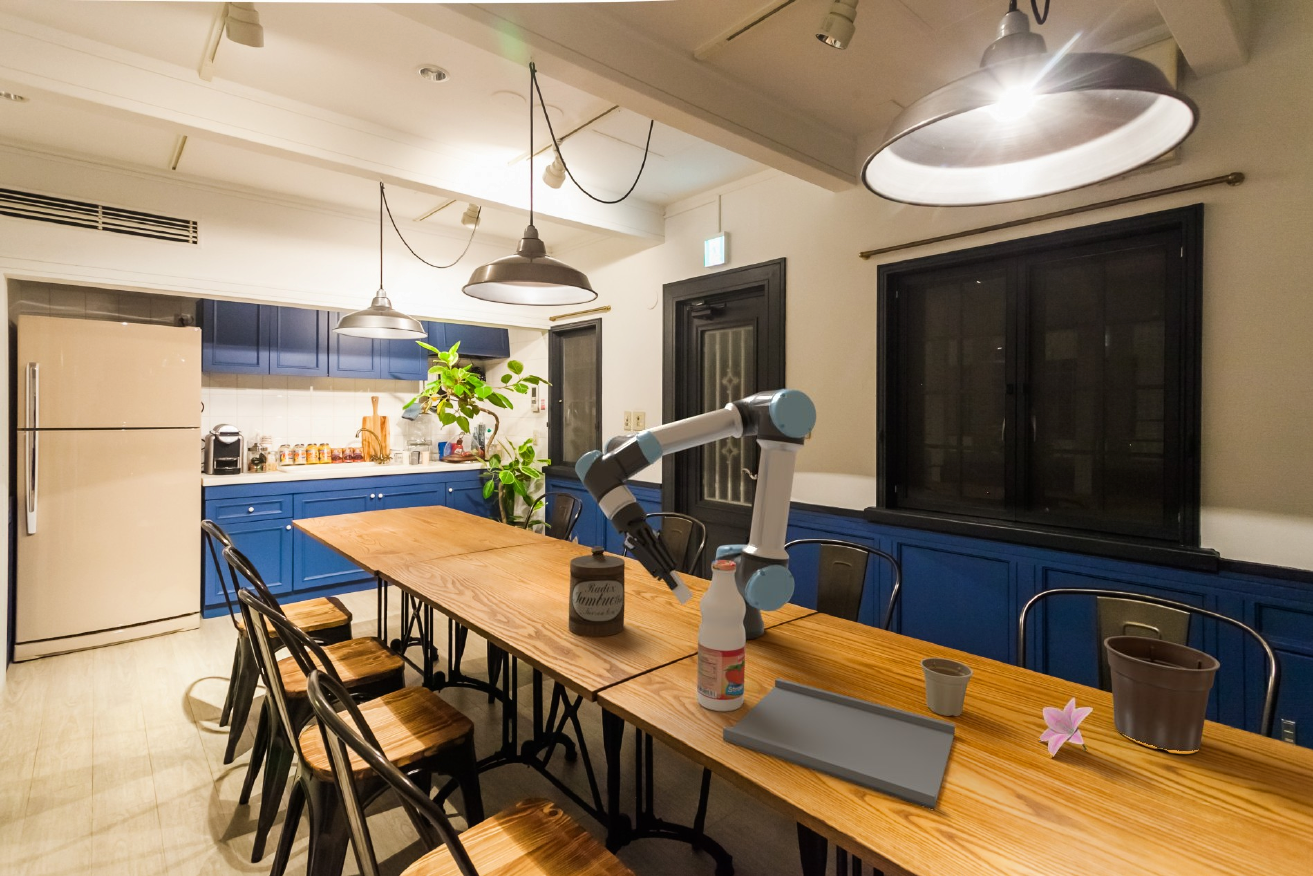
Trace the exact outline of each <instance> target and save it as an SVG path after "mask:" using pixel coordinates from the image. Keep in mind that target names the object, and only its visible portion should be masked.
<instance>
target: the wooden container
mask: <svg viewBox="0 0 1313 876" xmlns="http://www.w3.org/2000/svg"><path fill="white" fill-rule="evenodd" d="M590 552H591V554H588V555H582V556H577V557H574V558H572V559H571V560H570V561H569V563H570V565H569V566H570V567H569V570H570V571H569V572H570V577H569V596H568V597H569V599H568V629H569V631H570V632H572V634H576V635H579V636H582V637H588V638H589V637H591V638H592V637H593V638H595V637H596V638H598V637H599V638H600V637H608V636H612V635H613V636H614V635H617V634H619V633H620V632H622V631H623V629H624V627H625V626H624V625H625V606H626V605H625V602H626V601H625V595H626V593H625V592H626V591H625V583H626V580H625V578H626V577H625V575H626V574H625V569H626V568H625V567H626V566H625V565H626V564H625V563H626V561H625V560H624V558H622V557H619V556H614V555H609V554H608V555H607V554H604V552H605V548H604V547H603V546H601V545H594V546H593V547H592V548H591V550H590Z"/></svg>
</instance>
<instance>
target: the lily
mask: <svg viewBox="0 0 1313 876" xmlns="http://www.w3.org/2000/svg"><path fill="white" fill-rule="evenodd" d="M1093 709H1094V708H1093V707H1091V706H1090V707H1089V706H1088V707H1087V706H1085V707H1084V706H1083V707H1079V708H1076V698H1075V697H1072V698H1071V699H1070V700H1069V701H1068V702H1067V704H1066V705H1065V706H1064V709H1063V710H1062V709H1060V708H1057V707H1051V706H1046V707H1043V708H1042V714H1043V716H1042V717H1043V719H1044V722H1045V724H1046V725H1047V727H1048V728H1047V729H1046V730H1044V732H1042V734H1041V735H1040V736H1039V738H1040V739H1041V741H1040V742H1047V741H1048V745H1047V752H1048V751H1049V752H1050V753H1052V754H1053V757H1055V755H1056V753H1057V752H1058V751H1059V749H1060V748H1061V747H1062V745H1063V744H1064V743H1065V742H1066V741H1067V742H1069V743H1072V744H1078V745H1082V747H1083V749H1084V751H1086V750H1087V751H1088V749H1087V747H1086V746H1085V744H1084V739H1083V736H1082V733H1081V731H1080V729H1079V725H1080V724H1081V723H1082V722H1083V720H1084V719H1085V718H1086V717H1088V715H1090V714H1091V712H1092V711H1093Z"/></svg>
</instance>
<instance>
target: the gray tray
mask: <svg viewBox="0 0 1313 876" xmlns="http://www.w3.org/2000/svg"><path fill="white" fill-rule="evenodd" d="M722 730H723V732H722V740H723V741H725V742H728V743H731V744H734V745H737V746H740V747H743V748H746V749H749V750H752V751H756V752H758V753H761V754H764V755H767V756H770V757H772V758H776V759H778V760H782V761H785V762H788V763H790V764H794V765H798V766H800V767H802V768H805V769H807V770H808V769H809V770H812V771H814V772H818V773H821V774H825V775H826V776H829V777H833V778H835V779H839V780H842V781H845V782H848V783H851V784H854V785H857V786H859V787H863V788H866V789H868V790H872V791H875V792H878V793H881V794H884V795H887V796H890V797H893V798H896V799H899V800H902V801H905V802H907V803H911V804H914V805H916V804H917V806H919V805H920V806H919V807H922V806H924V807H923V808H926V809H928V808H930V809H929V810H931V809H933V810H932V811H935V809H936V806H937V802H936V801H938V797H939V795H940V791H939V790H941V787H942V783H943V780H944V776H943V775H945V771H946V769H945V768H947V765H946V764H948V761H949V757H948V756H950V754H949V753H951V750H950V749H952V746H951V745H953V743H954V739H955V735H956V734H955V732H956V724H955V723H953V722H950V721H949V722H948V721H945V720H940V719H936V718H933V717H930V716H925V715H921V714H917V713H914V712H909V711H906V710H902V709H897V708H895V707H892V706H891V707H890V706H886V705H883V704H880V703H879V704H878V703H876V702H872V701H867V700H865V699H864V700H863V699H859V698H856V697H852V696H847V695H844V694H840V693H836V692H832V691H829V690H826V689H821V688H817V687H813V686H810V685H805V684H803V683H802V684H801V683H799V682H795V681H791V680H786V679H783V678H779V677H777V678H775V680H774V687H772V689H770V691H768V692H767V693H766V695H764V696H763V697H762V699H760V700H759V701H758V702H757V703H756V704H755V705H753V707H752V708H751V709H750V710H749V711H748V712H747V713H746V714H744V716H742V718H741V719H739V721H738V722H736V723H735V725H733V726H727V725H726V726H725V727H724V728H723V729H722ZM954 734H955V735H954ZM953 738H954V739H953ZM952 742H953V743H952ZM947 760H948V761H947ZM942 779H943V780H942ZM938 794H939V795H938ZM935 805H936V806H935Z"/></svg>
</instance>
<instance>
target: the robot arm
mask: <svg viewBox="0 0 1313 876" xmlns="http://www.w3.org/2000/svg"><path fill="white" fill-rule="evenodd" d="M816 422H817V410H816V407H815V404H814V402H813V400H811V398H810V397H809V395H808V394H806V393H805V392H803V391H802V390H799V389H793V388H792V389H791V388H781V389H774V390H764V391H759V392H756V393H754V394H752V395H749V396H746V397H743V398H741V399H739V400H738V399H737V400H734V401H731V402H728V403H726V405H725V406H724V408H721V409H716V410H713V411H709V412H705V413H703V414H698V415H695V416H691V417H688V418H687V417H686V418H684V419H680V420H677V421H673V422H669V423H666V424H661V425H658V426H655V427H650V428H647V429H643V430H641V431H637V432H633V433H629V434H626V435H617V436H614V437H611V438H609V440H607V442H606V443H605V446H604V453H603V452H601V451H600V450H597V449H595V450H593V449H592V450H591V451H589V452H586V453H585V454H583V455H582V456H581V457H580V458H579V459H578V460H577V462H576V463H575V467H574V470H575V473H576V474H577V476H578V478H579V479H580V481H581V483H582V485H583V487H584V488H585V489H586V490H587V491H588V493H589V494H590V495H591V497H592V499H593V500H594V501H595V503H596V504H597V506H599V508H600V509H601V511H602V512H603V515H605V517H606V518H607V519H608V520H609V521H610V524H611V526H612V527H613V528H614V529H615V531H616V532H617V534H618V535H620V536H624V538H625V541H624V542H623V543H622V544H621V546H622V548H624V549H625V550H627V551H628V552H629V553H631V555H632V556H633V557H634V558H635V559H636V560H637V561H638V563H640V564H641V565H642V567H643V568H644V569H645V570H646V571H647V572H648V573H649V574H650V575H651V576H652V578H654V579H656V580H657V581H658V582H661V581H662V580H663V582H665V585H666V586H667V587H668V589H670V591H671V592H672V594H673V595H674V596H675V598H676V600H677V601H678V602H679V603H680V604H681V605H684V604H686V603H687V602H688V601H689V600H691V598H693V597H694V595H693V593H692V591H691V590H690V588H689V587H688V586H687V585H686V583H685V581H684V580H683V579H682V577H680V575H679V573H678V572H677V569H678V568H679V562H678V560H677V558H676V557H675V555H674V554H673V552H672V550H671V547H670V546H669V545H668V543H667V541H666V538H665V536H664V532H663V530H661V529H660V528H659V529H658V530H654V529H653V528H652V525H650V524H649V523H648V522H647V521H646V518H647V517H648V516H647V512H646V511H645V510H644V508H643V507H642V505H641V504H640V502H637V498H636V497H635V496H634V494H633V493H632V492H631V491H630V489H629V488H628V486H627V485H626V484H625V483H624V482H626V481H628V480H629V479H630V478H632V477H634V476H635V475H638V474H639V473H640V472H642V471H643V470H645V469H647V468H648V467H649V466H651V465H654V464H655V463H656V462H657V461H658V460H659V459H662V457H663V456H666V455H668V454H673V453H676V452H680V451H683V450H687V449H690V448H693V447H698V446H701V445H704V444H705V445H706V444H707V443H712V442H715V441H718V440H721V439H725V438H729V437H734V438H736V439H739V438H743V437H746V436H756V442H757V444H758V445H759V446H760V448H761V449H760V450H761V451H760V458H759V465H758V474H757V479H756V480H757V482H756V490H755V497H754V505H753V511H752V519H751V526H750V527H751V528H750V534H749V535H750V536H749V542H748V543H747V544H725V545H724V544H723V545H720V546H718V547H717V549H716V554H715V560H714V561H716V560H728V561H733V562H735V563H736V572H735V573H734V577H735V582H736V586H737V589H738V591H739V593H740V594H741V596H742V597H743V599H744V601H745V605H746V612H745V616H744V619H743V626H744V628H745V637H746V640H754V639H758V638H760V637H762V636H763V635H764V633H765V623H764V620H763V616H762V613H761V612H762V611H763V612H774V611H778V610H781V608H782V607H784V606H785V605H786V604H788V602H790V600H791V598H792V597H793V594H794V590H795V580H794V576H793V575H792V573H791V572H790V570H789V563H790V555H789V554H788V552H787V551H786V549H785V544H786V537H787V536H786V535H787V530H788V529H787V527H788V520H789V514H790V505H791V499H792V498H791V497H792V489H793V482H794V475H795V474H794V473H795V467H796V458H797V453H798V452H799V451H800V450H801V449H803V448H804V446H805V440H806V439H805V438H806V436H808V435H809V434H810V432H812V430H813V429H814V428H815V426H816Z"/></svg>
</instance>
